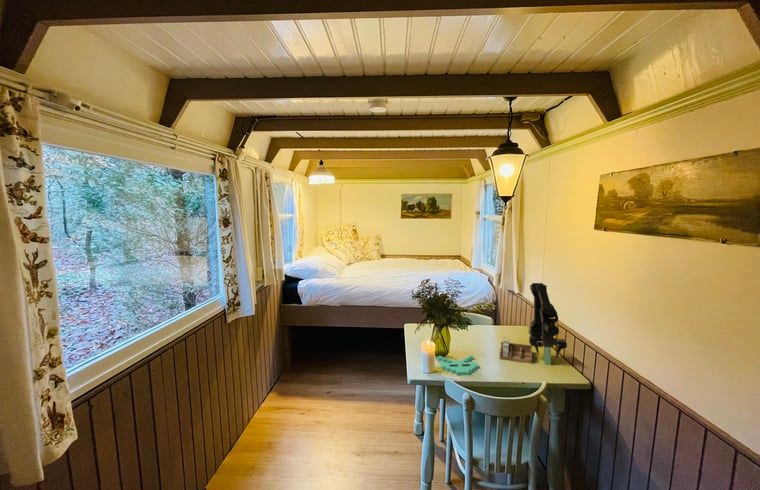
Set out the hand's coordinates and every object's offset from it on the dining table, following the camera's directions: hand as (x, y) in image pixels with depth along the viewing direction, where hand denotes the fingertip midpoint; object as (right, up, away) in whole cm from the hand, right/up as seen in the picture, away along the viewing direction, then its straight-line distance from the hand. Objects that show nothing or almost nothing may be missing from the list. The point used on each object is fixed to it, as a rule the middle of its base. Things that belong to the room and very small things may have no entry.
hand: (547, 356), depth 189 cm
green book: (0, -3, 0) cm, 3 cm away
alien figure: (-51, -5, -3) cm, 51 cm away
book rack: (-15, -3, +7) cm, 17 cm away
